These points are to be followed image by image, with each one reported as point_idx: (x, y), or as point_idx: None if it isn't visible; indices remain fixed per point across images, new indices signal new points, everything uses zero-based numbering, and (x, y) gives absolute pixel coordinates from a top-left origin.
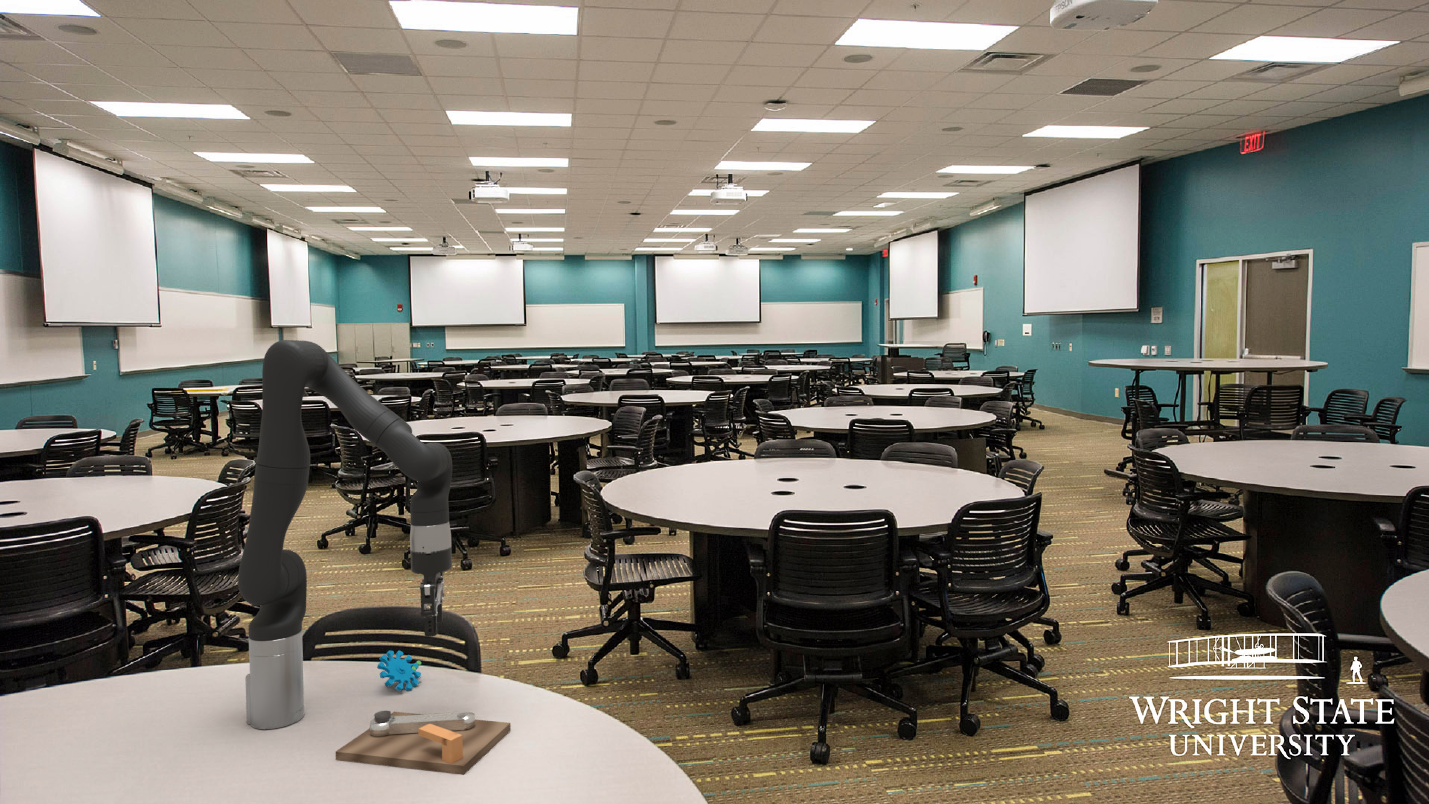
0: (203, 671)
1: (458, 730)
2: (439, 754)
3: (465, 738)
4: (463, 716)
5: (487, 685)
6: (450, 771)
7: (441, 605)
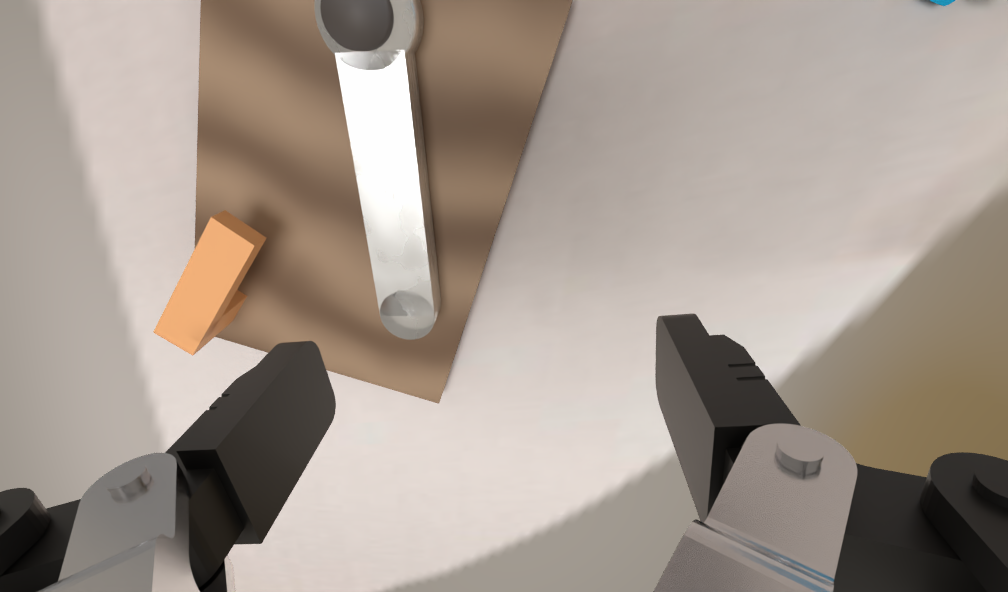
0: None
1: None
2: None
3: (341, 309)
4: (400, 310)
5: (811, 290)
6: None
7: (703, 521)
